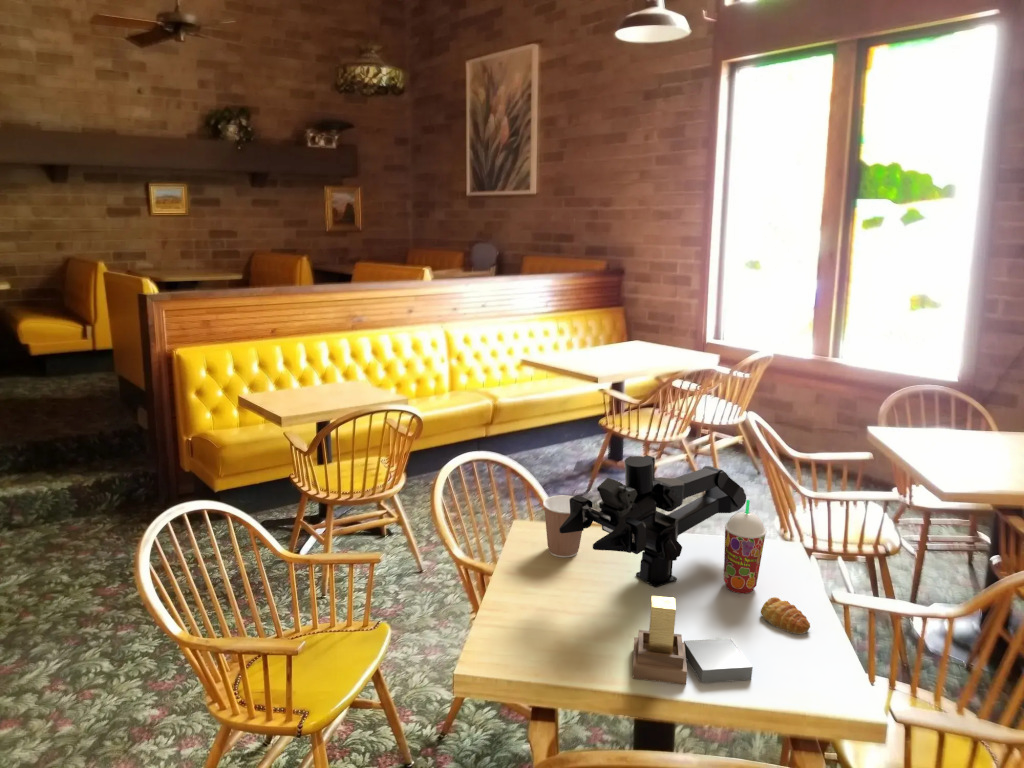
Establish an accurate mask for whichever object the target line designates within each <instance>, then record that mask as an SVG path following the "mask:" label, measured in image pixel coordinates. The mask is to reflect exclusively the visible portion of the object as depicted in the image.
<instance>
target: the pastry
mask: <svg viewBox="0 0 1024 768" xmlns="http://www.w3.org/2000/svg"><path fill="white" fill-rule="evenodd" d="M760 615H761V616H762V618H763V619H764V621H765V622H768V623H769V624H770V625H772V626H774V627H776V628H778V629H780V630H783V631H785V632H787V633H791V634H796V635H803V634H805V633H808V632H809V629H810V628H811V623H810V622H809V620H808V618H807V616H806V615H804V614H803V613H802V611H801V610H799V609H798V608H797V606H796V605H794V604H791V603H790V602H789V601H787V600H781V599H780V598H779V597H776V596H774V597H769V599H767V601H765V602H764V603H763V605H762V607H761V609H760Z"/></svg>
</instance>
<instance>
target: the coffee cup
mask: <svg viewBox="0 0 1024 768" xmlns="http://www.w3.org/2000/svg"><path fill="white" fill-rule="evenodd" d="M574 496H575V495H574ZM574 496H573V495H567V494H566V495H562V494H561V495H559V494H558V495H553V496H549V497H546V498H545V499H544V500H543V501H542V504H543V505H542V506H543V507H544V518H545V519H544V520H545V531H546V540H547V548H548V552H549V553H550V554H551V556H554V557H558V558H571V557H574V556H576V555H577V554H578V553H579V549H580V545H581V540H582V534H583V531H578V532H570V533H560V531H559V528H560V527H561V526H562V524H563V523H564V522H565V521H566V520H567V518H568V517H569V516H570V498H572V497H574Z"/></svg>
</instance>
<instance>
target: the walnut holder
mask: <svg viewBox="0 0 1024 768" xmlns="http://www.w3.org/2000/svg"><path fill="white" fill-rule="evenodd" d="M637 634H638V635H637V636H638V637H636V636H634V637H633V650H632V651H633V652H632V653H633V654H632V657H633V658H632V679H634V680H642V681H652V682H659V683H668V684H675V685H676V684H677V685H684V686H686V685H687V678H688V677H687V676H688V668H687V666H688V665H687V659H686V654H685V643H684V641H683V637H682V634H680V633H674V639H673V651H672V655H671V654H662V653H653V652H648V642H649V630H643V629H639V630H638V633H637Z"/></svg>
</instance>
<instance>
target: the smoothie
mask: <svg viewBox="0 0 1024 768" xmlns="http://www.w3.org/2000/svg"><path fill="white" fill-rule="evenodd" d="M750 501H751V499H746V502H745V510H742V511H738V512H735V513H734V514H733V515H731V516H730V517H729V519H728V521H727V522H726V523H725V525H724V528H725V529H724V553H723V554H724V557H723V558H724V559H723V561H724V562H723V564H724V565H723V581H724V583H725V586H726V588H727V589H728V590H729V591H732V592H734V593H737V594H743V593H744V594H750V593H752V592H753V591H754V590H755V588H756V587H757V584H758V578H759V573H760V566H761V561H762V556H763V549H764V545H765V539H766V534H767V529H766V527H765V526H764V523H763V522H762V519H761V518H760V517H759V516H758V515H756V514H755V513H753V512H751V511H750V505H751V504H750V503H751V502H750Z"/></svg>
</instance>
